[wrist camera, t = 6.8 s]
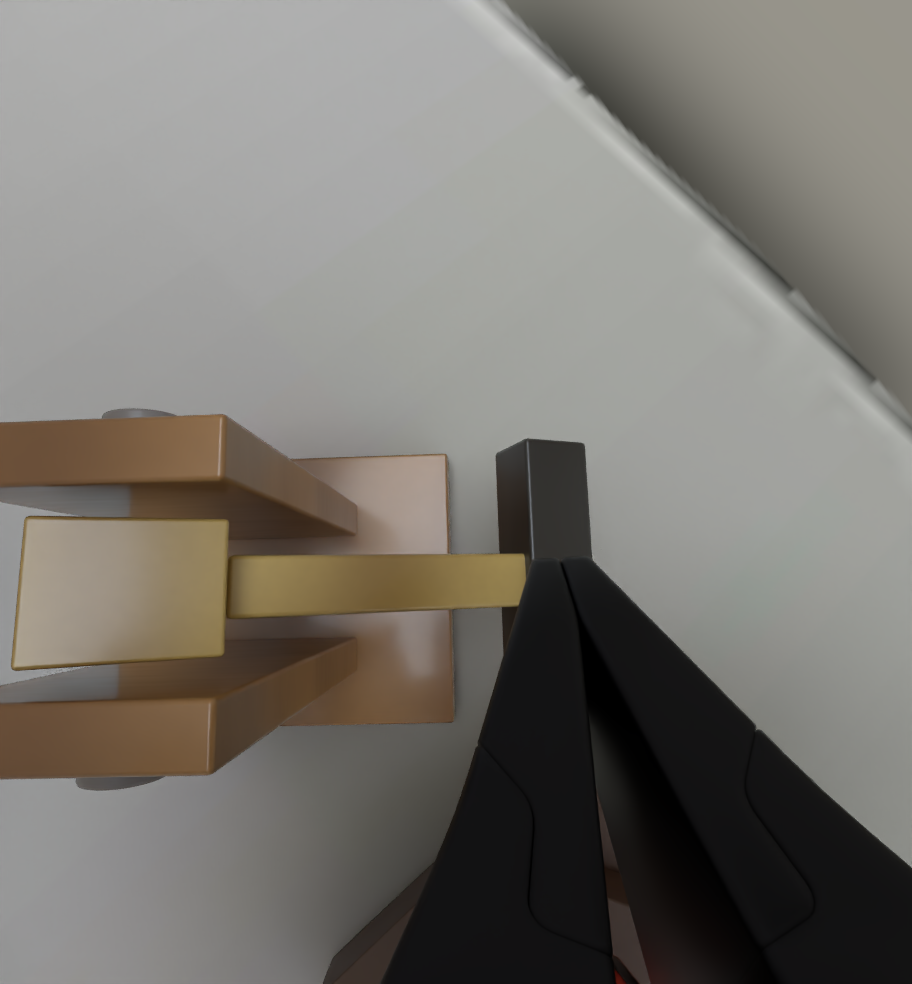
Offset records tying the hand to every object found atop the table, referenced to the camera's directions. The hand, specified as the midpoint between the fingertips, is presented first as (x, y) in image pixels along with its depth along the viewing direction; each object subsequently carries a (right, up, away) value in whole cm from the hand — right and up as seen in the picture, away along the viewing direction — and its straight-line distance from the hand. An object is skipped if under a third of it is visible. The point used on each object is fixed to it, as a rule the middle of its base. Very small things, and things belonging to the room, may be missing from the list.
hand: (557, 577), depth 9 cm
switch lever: (-4, -1, +4) cm, 5 cm away
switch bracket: (-7, -2, +10) cm, 12 cm away
